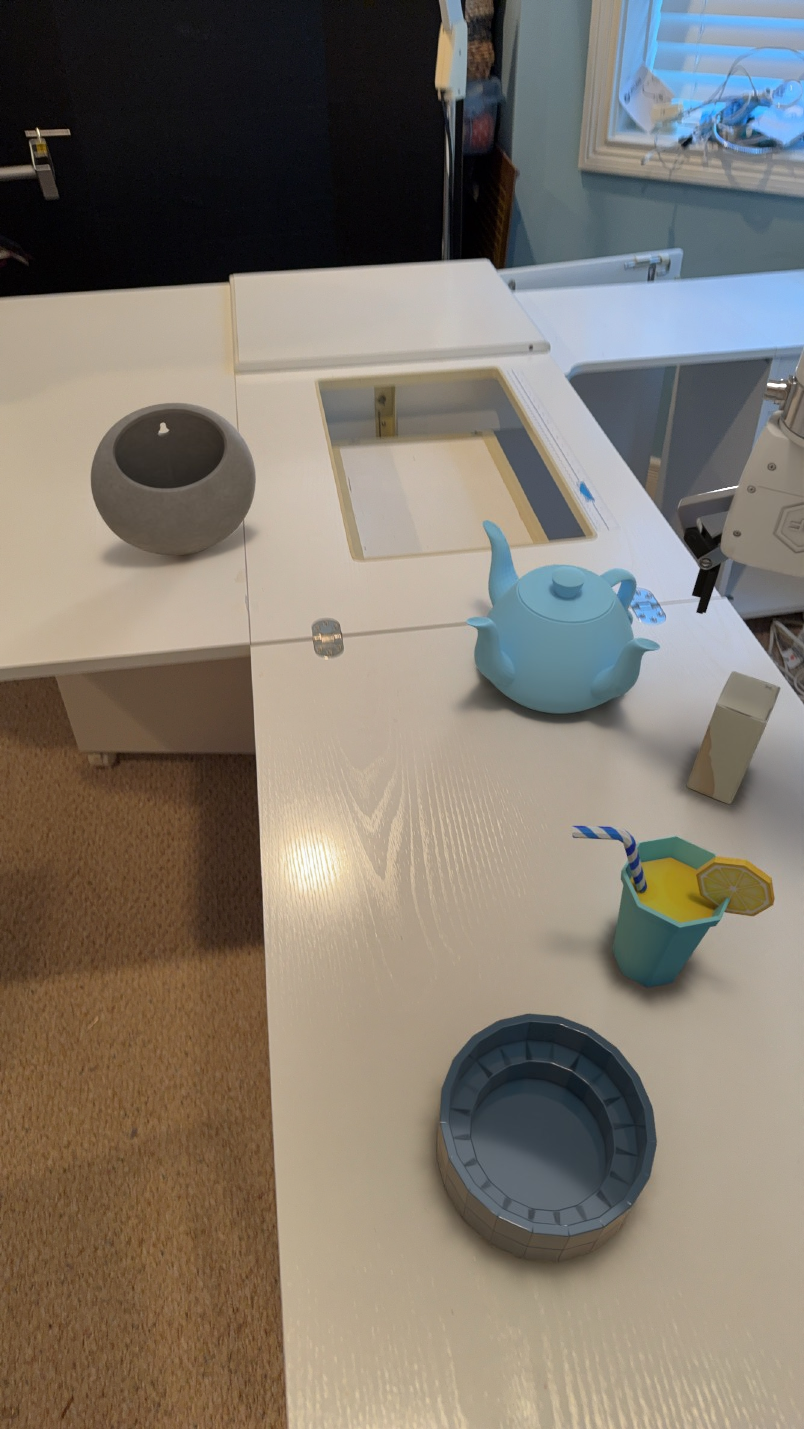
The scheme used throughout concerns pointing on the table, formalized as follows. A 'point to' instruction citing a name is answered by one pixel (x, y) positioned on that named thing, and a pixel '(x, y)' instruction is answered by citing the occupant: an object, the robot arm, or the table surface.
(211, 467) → the planter
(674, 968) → the cup
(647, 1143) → the round ribbed tray
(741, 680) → the box
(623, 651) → the teapot
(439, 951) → the table surface
